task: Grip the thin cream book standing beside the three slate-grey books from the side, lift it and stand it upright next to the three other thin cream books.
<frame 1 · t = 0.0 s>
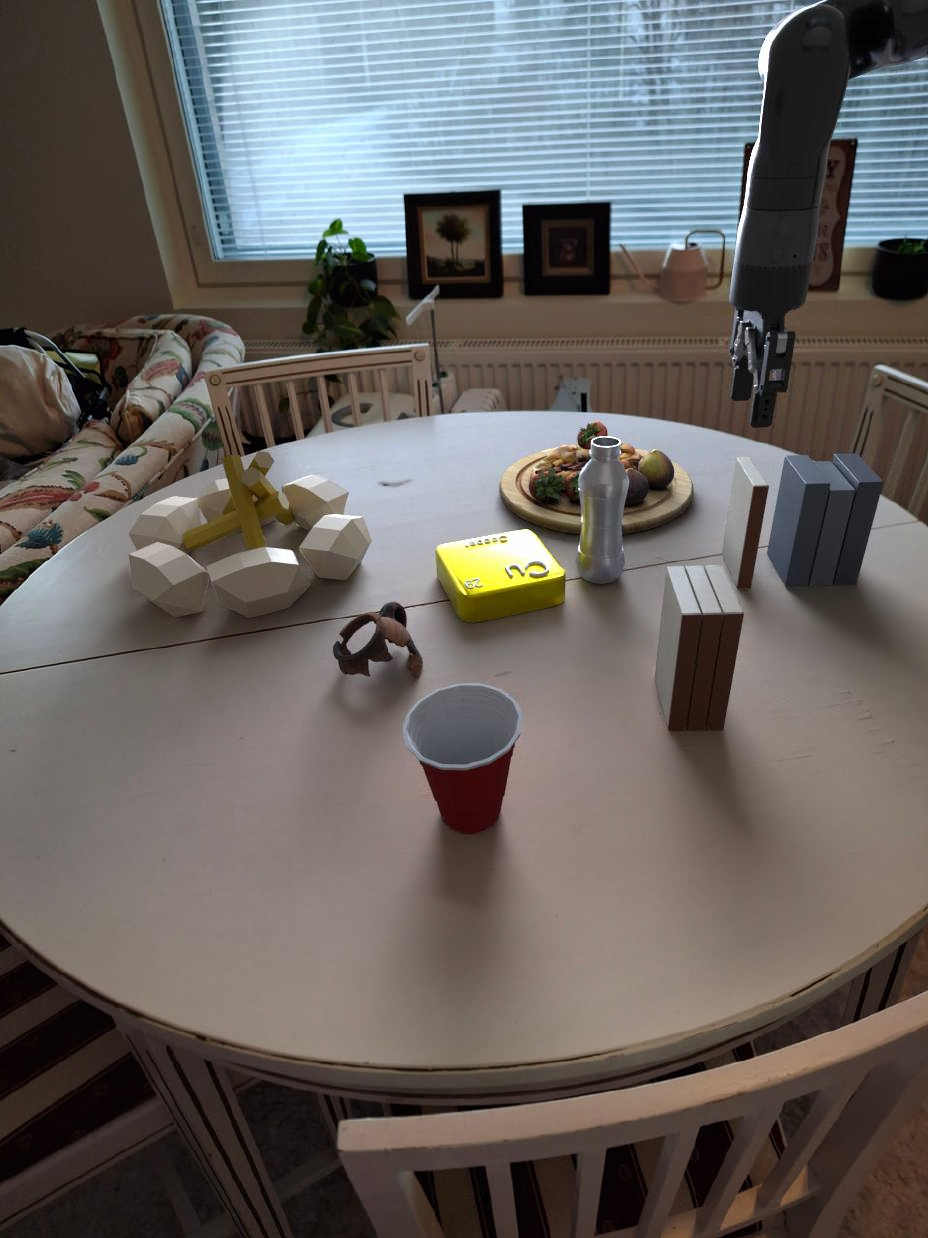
hand: (749, 412, 89), 26 cm above the table, tool pointing down, fingers open, 8 cm apart
brown looped sculpture: (385, 665, 98), on the table
grey books: (810, 568, 111), on the table
cream book: (735, 570, 112), on the table
element tile: (499, 588, 112), on the table
wooden plate: (594, 494, 135), on the table
campfire: (254, 562, 121), on the table
white books: (687, 701, 90), on the table
plastic cup: (468, 814, 78), on the table
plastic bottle: (599, 578, 112), on the table
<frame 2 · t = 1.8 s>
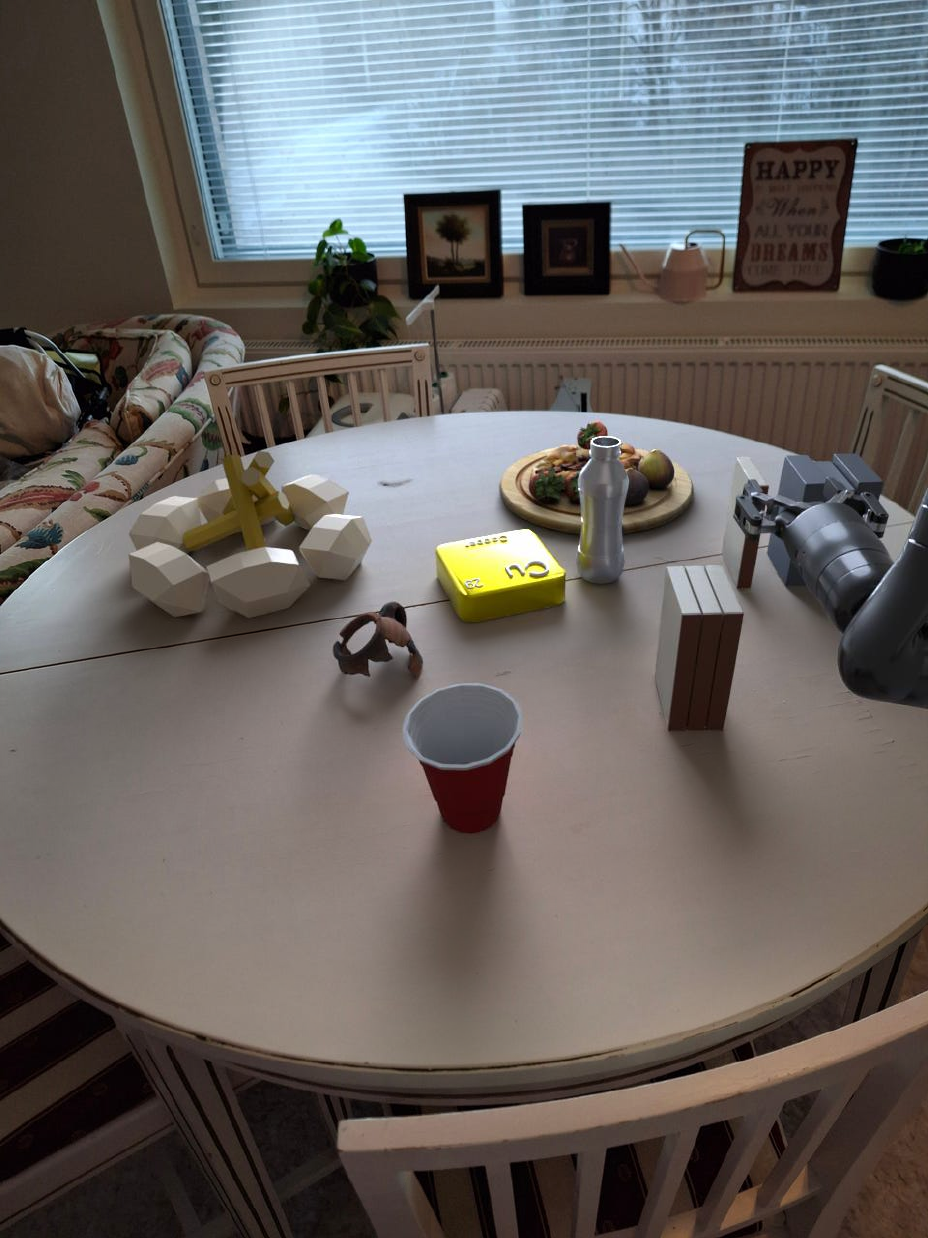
hand: (788, 485, 90), 19 cm above the table, tool horizontal, fingers open, 8 cm apart
nothing on the table moved.
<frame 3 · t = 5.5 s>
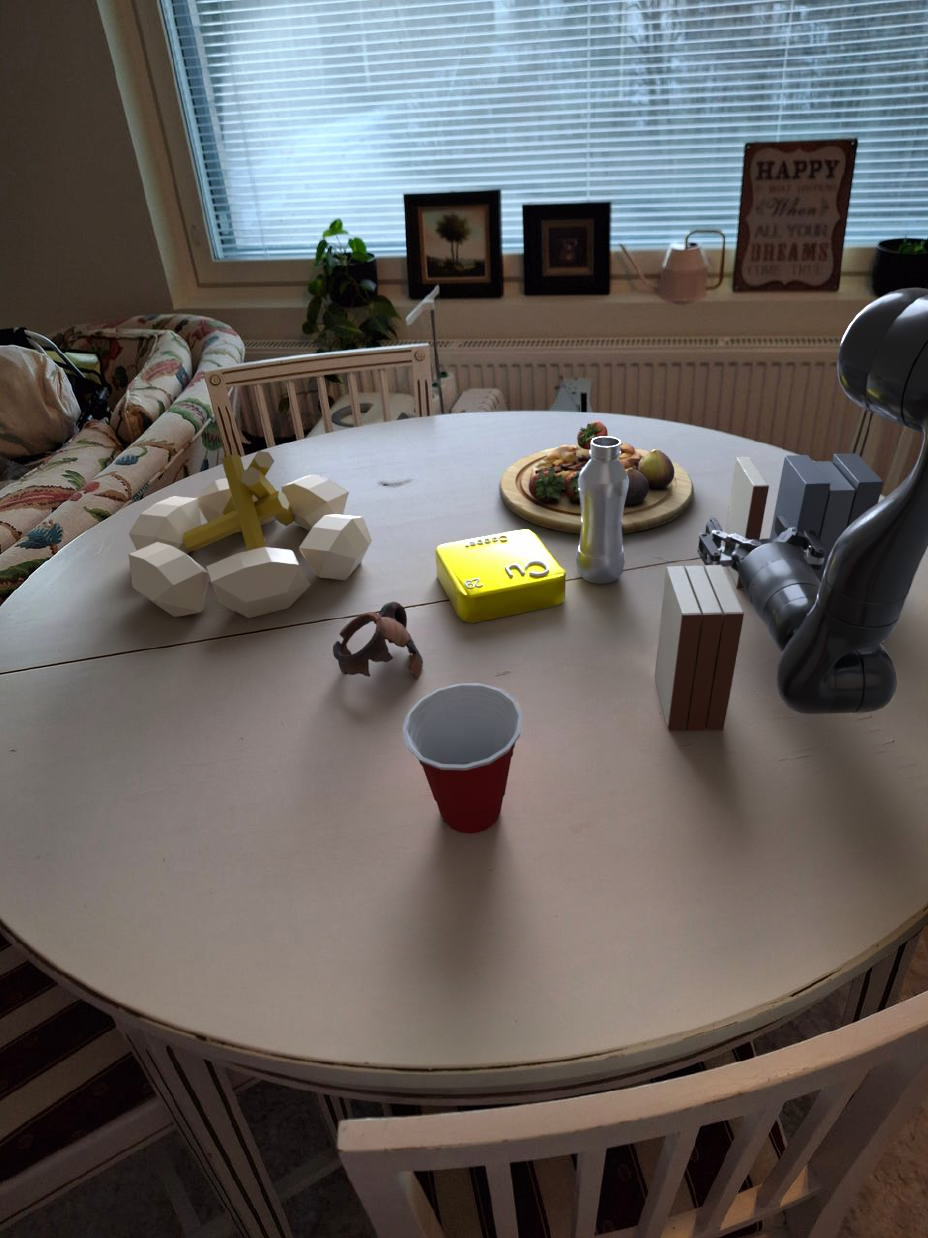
hand: (744, 523, 105), 9 cm above the table, tool horizontal, fingers open, 8 cm apart
nothing on the table moved.
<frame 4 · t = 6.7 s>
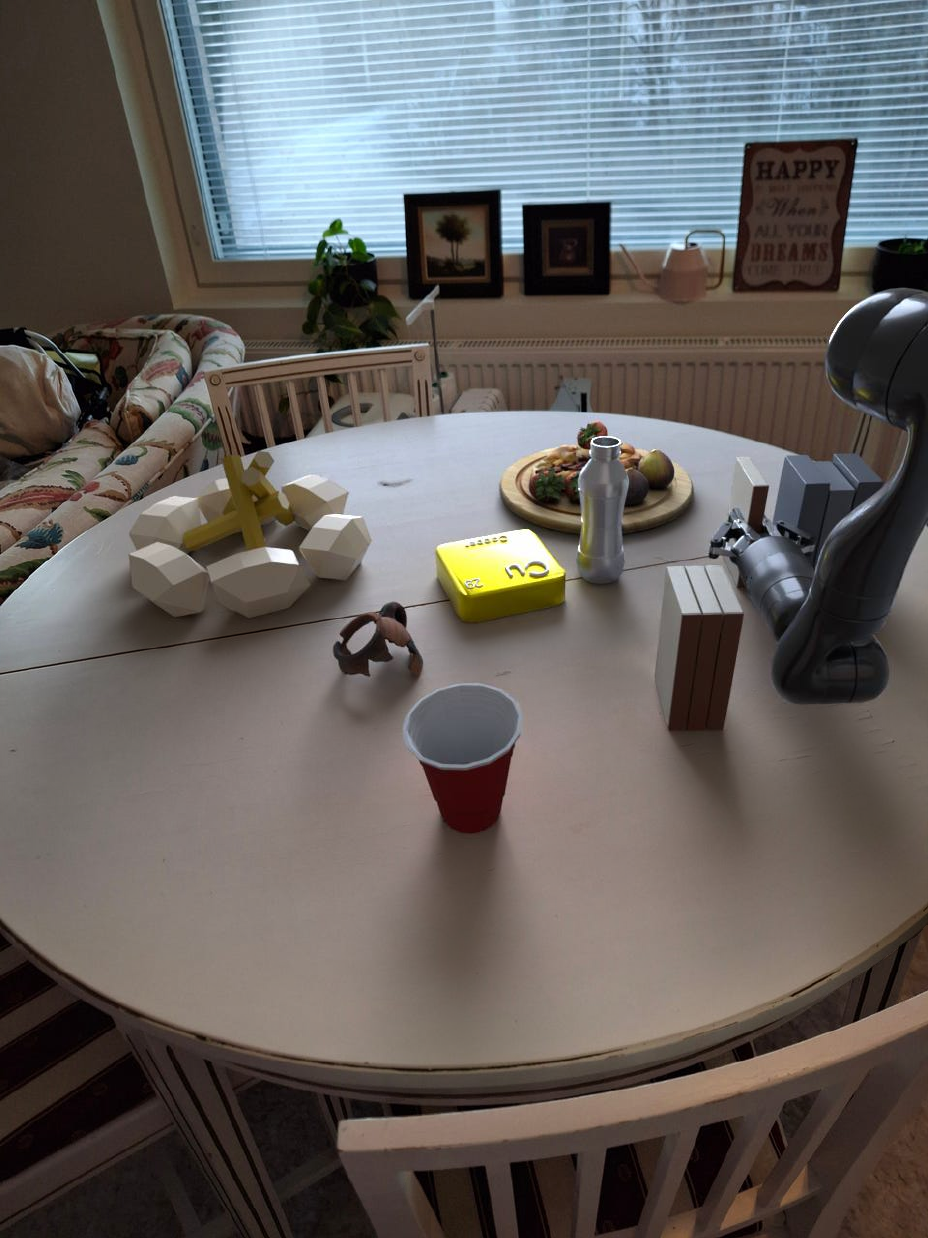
hand: (743, 514, 108), 9 cm above the table, tool horizontal, fingers closed on cream book, 2 cm apart
cream book: (735, 570, 112), on the table, touching gripper
everything else where it was.
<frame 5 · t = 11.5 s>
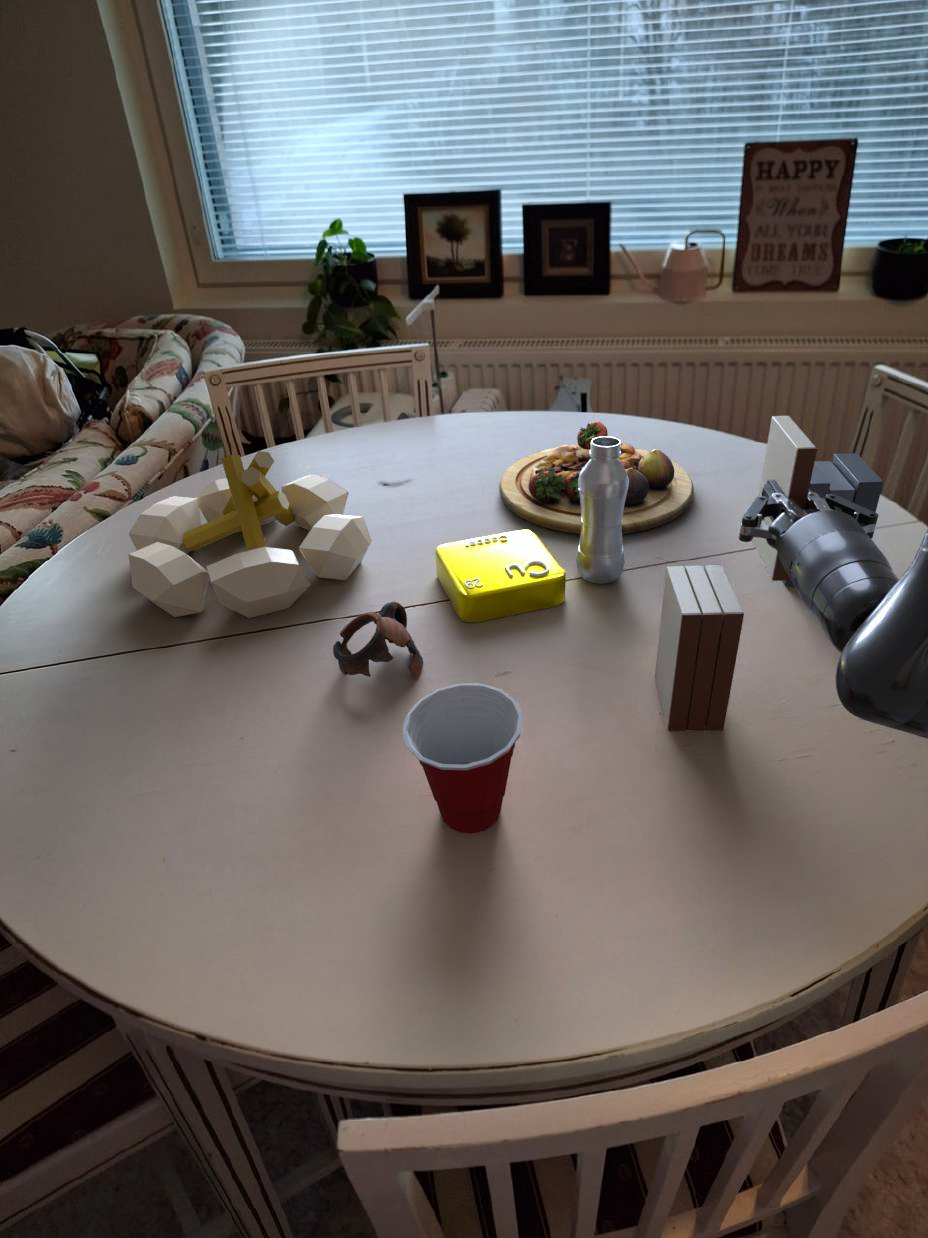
hand: (780, 487, 86), 21 cm above the table, tool horizontal, fingers closed on cream book
cream book: (769, 558, 90), point 12 cm above the table, touching gripper
everything else where it was.
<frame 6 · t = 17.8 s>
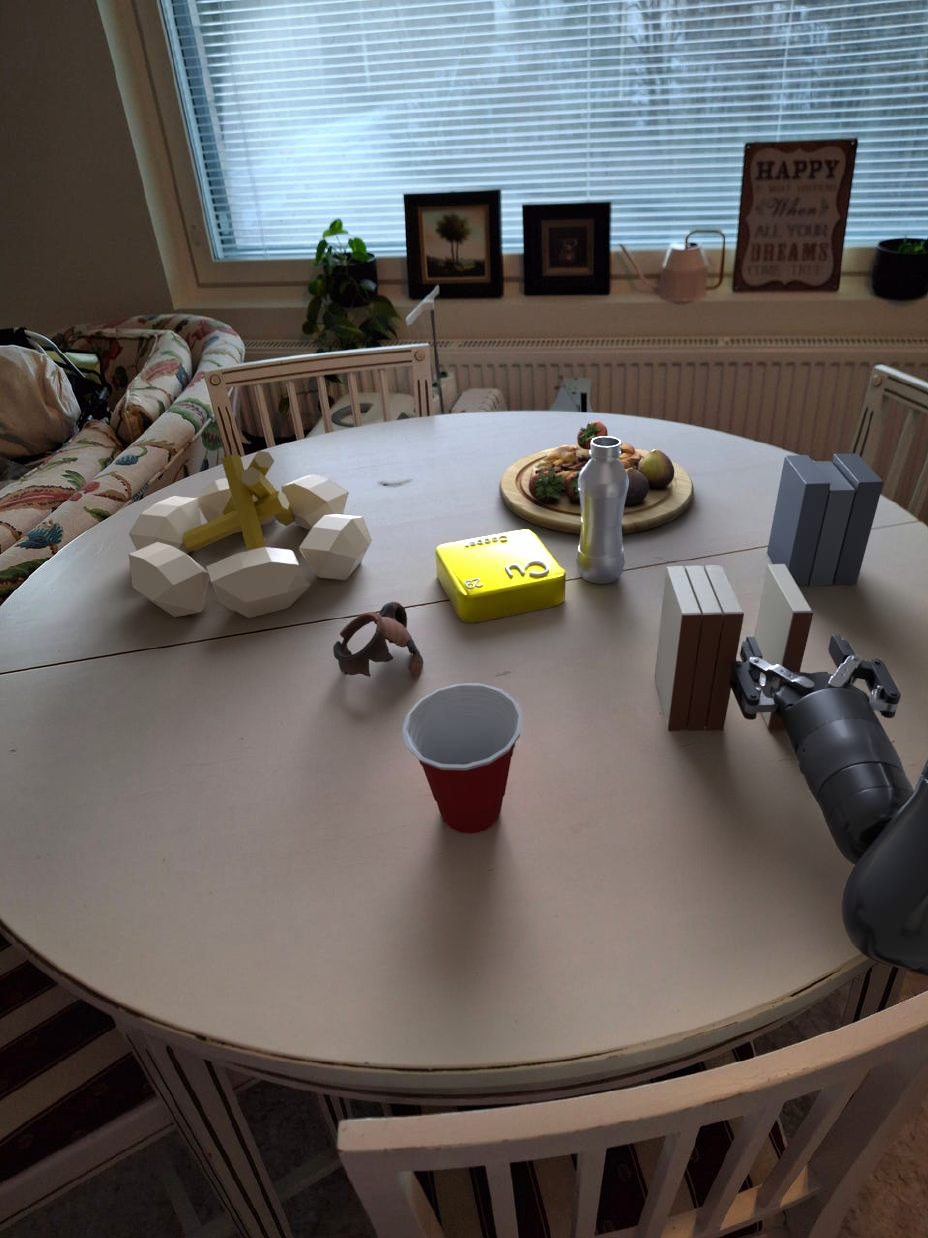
hand: (790, 642, 82), 9 cm above the table, tool horizontal, fingers open, 8 cm apart
cream book: (764, 700, 89), on the table
everything else where it was.
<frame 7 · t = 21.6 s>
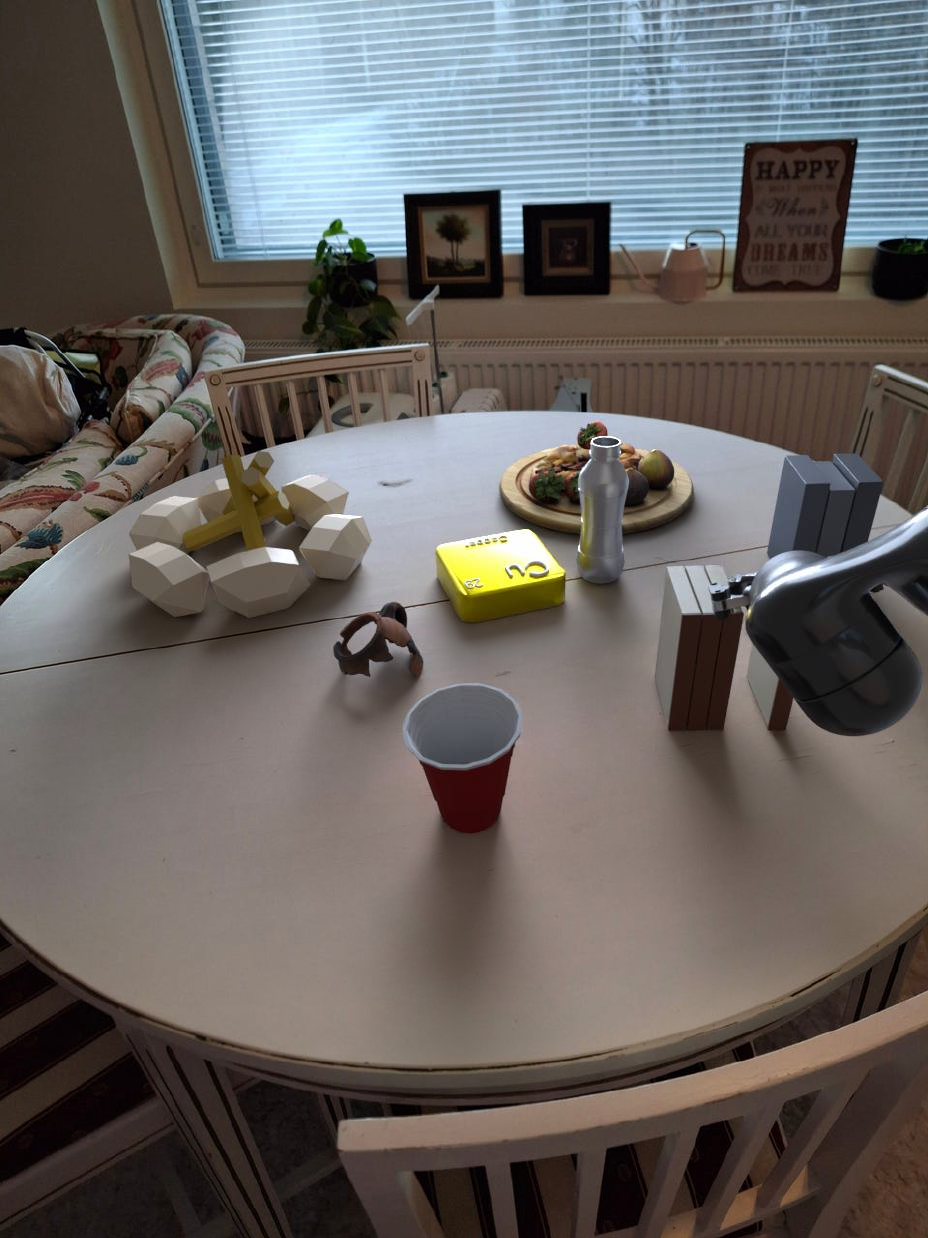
hand: (785, 575, 79), 17 cm above the table, tool tilted 65°, fingers open, 8 cm apart
nothing on the table moved.
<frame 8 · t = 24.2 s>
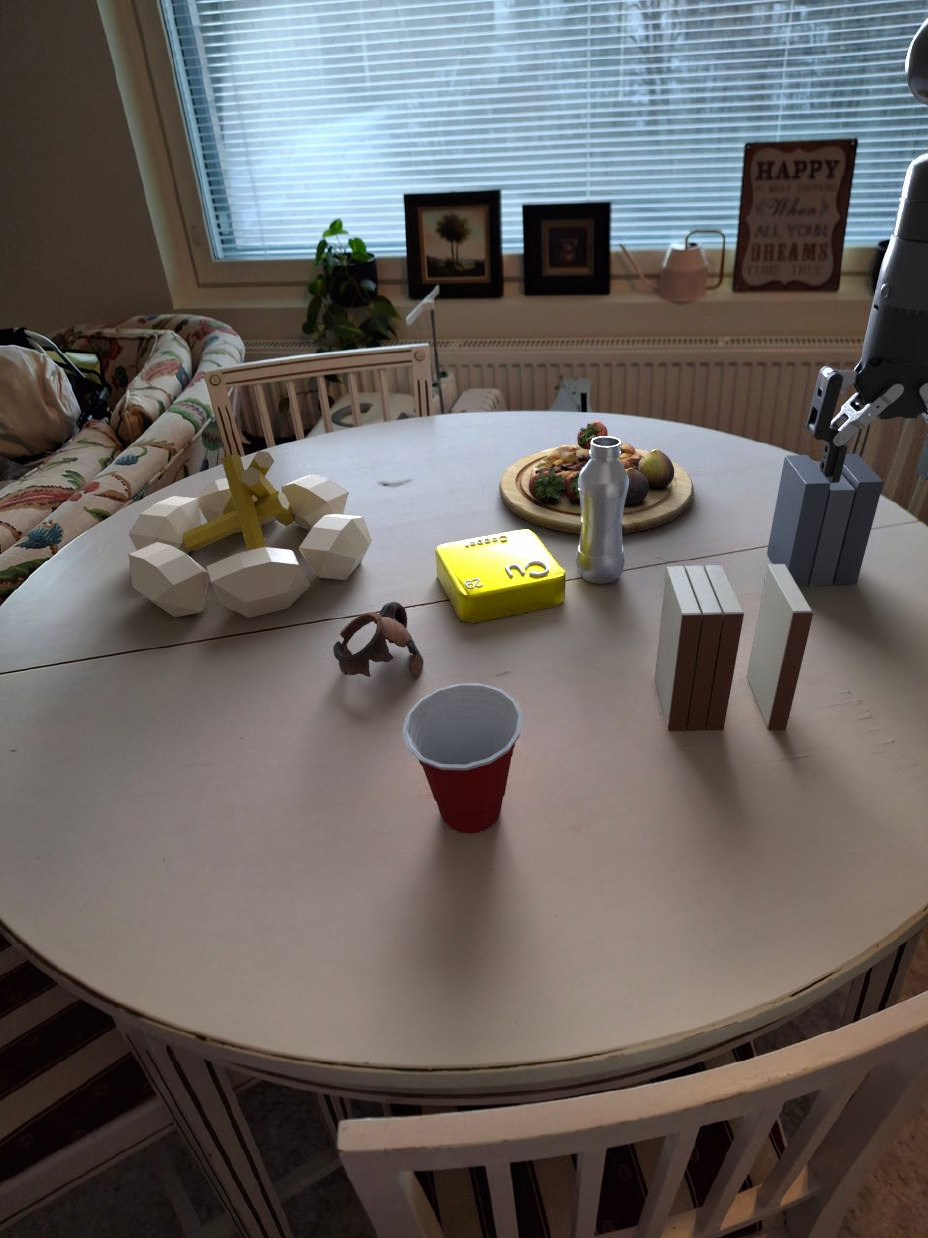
hand: (877, 478, 75), 26 cm above the table, tool pointing down, fingers open, 8 cm apart
nothing on the table moved.
at the end: cream book 0.1 cm from the target spot on the table beside the white books, on the table; cream book tilted 0°; the gripper is holding nothing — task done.
